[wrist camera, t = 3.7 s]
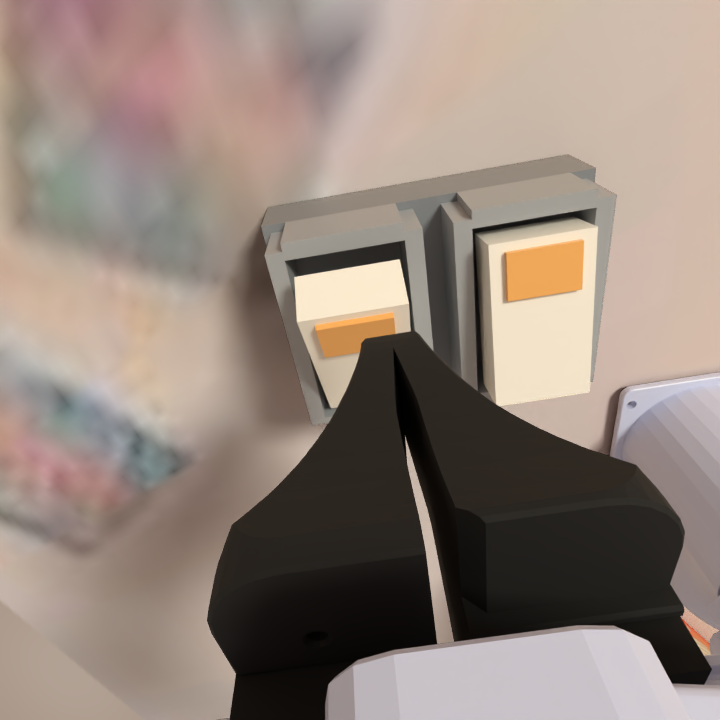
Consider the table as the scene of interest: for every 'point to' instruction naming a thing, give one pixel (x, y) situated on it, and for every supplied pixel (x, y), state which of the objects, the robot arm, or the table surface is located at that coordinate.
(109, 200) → the table surface
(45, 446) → the table surface
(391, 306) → the breaker
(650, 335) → the table surface
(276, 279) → the breaker panel
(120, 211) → the table surface
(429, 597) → the robot arm
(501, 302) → the breaker
